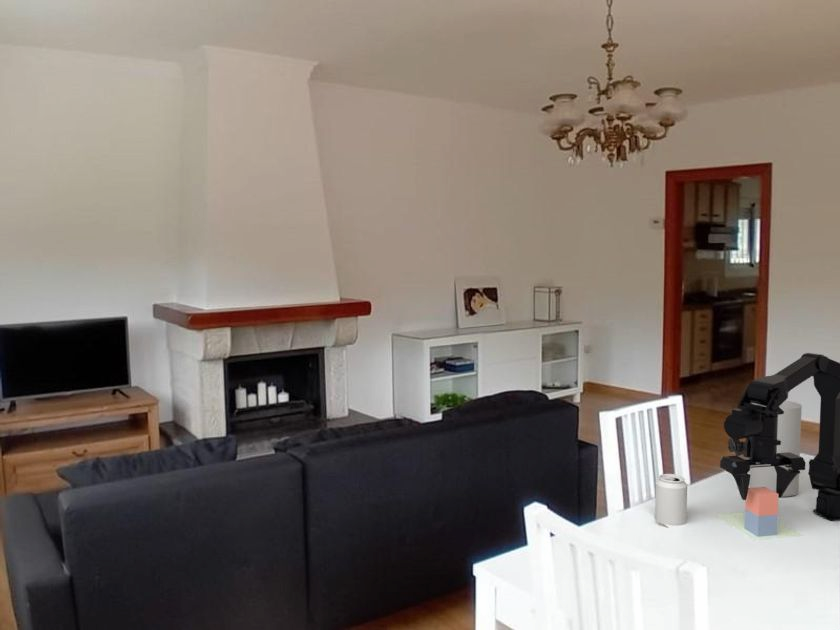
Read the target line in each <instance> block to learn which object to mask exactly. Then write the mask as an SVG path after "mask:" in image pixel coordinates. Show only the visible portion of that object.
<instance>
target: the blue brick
mask: <svg viewBox="0 0 840 630" xmlns="http://www.w3.org/2000/svg"><path fill="white" fill-rule="evenodd" d="M744 512H745V527H744V529H746V530H748V531H749V532H751V533H752V534H754V535H756V536H757V537H762V536H773V535H777V521H779V520H778V516H779V514H778V515H765V516H758V515H756V514H754V513H752V512H751V511H749V510H747V509H745V508H744Z"/></svg>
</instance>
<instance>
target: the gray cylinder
mask: <svg viewBox="0 0 840 630" xmlns="http://www.w3.org/2000/svg"><path fill="white" fill-rule="evenodd" d="M751 404H754V403H751ZM755 405H759V404H755ZM760 406H763V405H760ZM765 407H766V406H765ZM779 408H781V409H782V410H783V411H784V414H781V415H778V430H777V439H778V440H780V441H781V445H777V453H786V452H790V453H793V454H795V455H798V456H800V457H801V434H802V433H801V432H802V409H803V405H802V404H800V403H798V402H795V401H791V400H788V399H786V400H785V401H784V402H783V403H782V404H781V405H780V406H779ZM748 474H749V475H751V476H750V482H749V488H755V487H766V488H768V489H770V490H772V491H774V492H776V479H777V473H776V470H775V468H774V466H770V467H754V468H750V471H749V472H748ZM799 478H800V474H797V475H796V476H795V478H794V479H793V480H792V481H791V483H790V484H789V486H788V487H787V489H786V490H785V492H784V493H783V495H782V497H781V498H788V497H793V496H795V495H797V494H798V493H799V484H800V483H799V482H800V479H799Z"/></svg>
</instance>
